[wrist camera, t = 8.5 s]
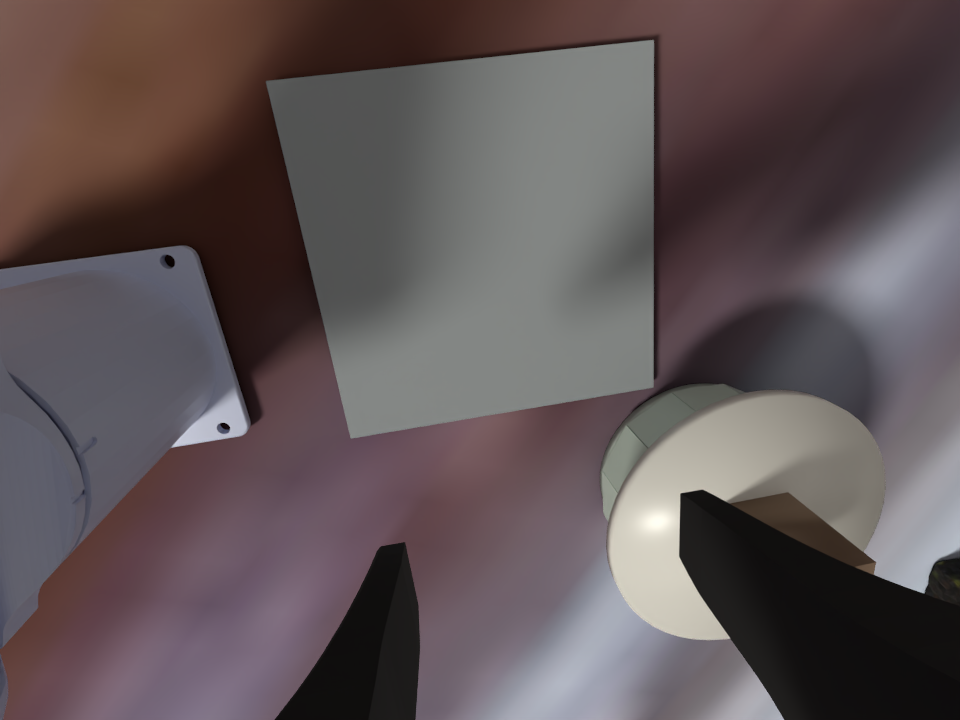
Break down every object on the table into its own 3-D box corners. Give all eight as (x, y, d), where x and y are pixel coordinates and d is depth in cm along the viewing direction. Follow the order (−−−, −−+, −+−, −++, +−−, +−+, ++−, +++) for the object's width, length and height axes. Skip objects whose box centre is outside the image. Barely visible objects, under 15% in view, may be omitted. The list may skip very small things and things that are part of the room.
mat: (352, 433, 22) (350, 438, 22) (269, 83, 17) (265, 81, 17) (648, 383, 23) (653, 387, 23) (647, 43, 18) (653, 39, 18)
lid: (610, 651, 22) (658, 762, 18) (601, 417, 18) (659, 487, 14) (852, 600, 23) (952, 692, 19) (894, 366, 19) (1033, 417, 15)
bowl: (600, 557, 26) (636, 627, 22) (592, 397, 23) (633, 443, 19) (765, 525, 27) (830, 587, 23) (780, 366, 24) (860, 403, 20)
